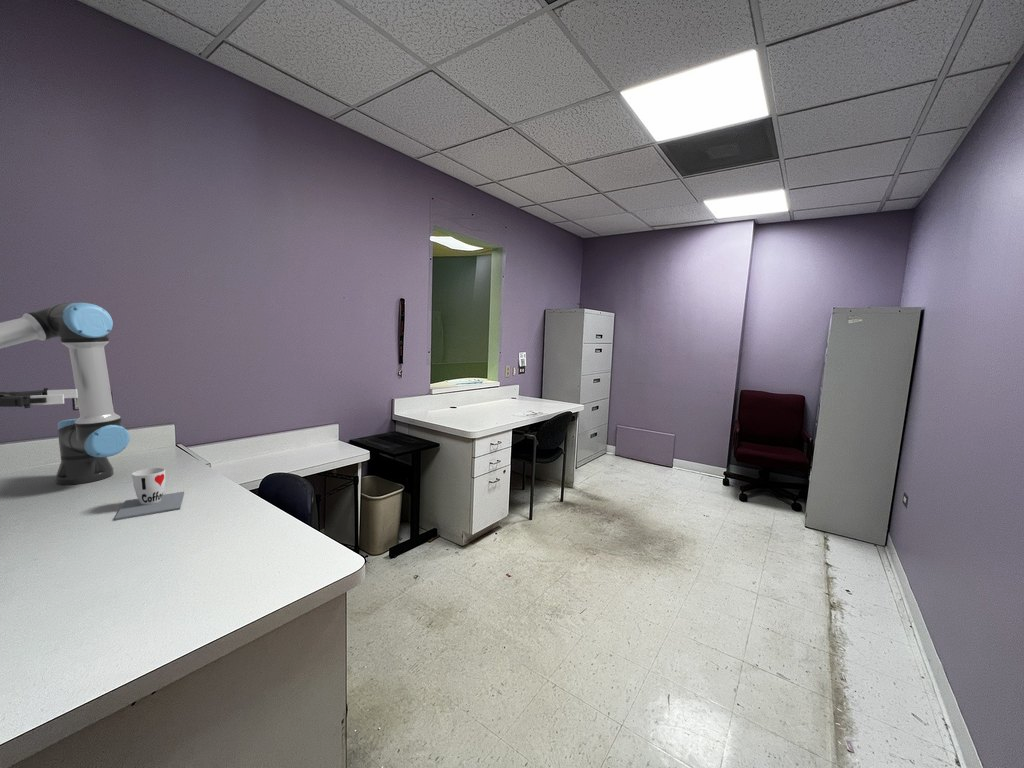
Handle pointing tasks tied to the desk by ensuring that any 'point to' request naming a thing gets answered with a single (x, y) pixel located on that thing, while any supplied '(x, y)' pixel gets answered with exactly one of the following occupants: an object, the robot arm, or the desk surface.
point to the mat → (150, 506)
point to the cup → (149, 485)
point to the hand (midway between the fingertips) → (70, 396)
